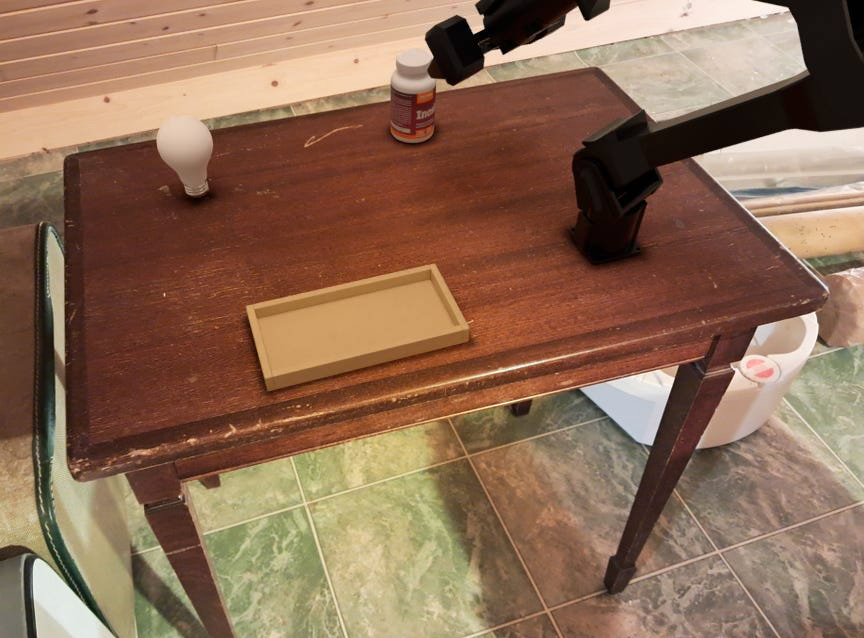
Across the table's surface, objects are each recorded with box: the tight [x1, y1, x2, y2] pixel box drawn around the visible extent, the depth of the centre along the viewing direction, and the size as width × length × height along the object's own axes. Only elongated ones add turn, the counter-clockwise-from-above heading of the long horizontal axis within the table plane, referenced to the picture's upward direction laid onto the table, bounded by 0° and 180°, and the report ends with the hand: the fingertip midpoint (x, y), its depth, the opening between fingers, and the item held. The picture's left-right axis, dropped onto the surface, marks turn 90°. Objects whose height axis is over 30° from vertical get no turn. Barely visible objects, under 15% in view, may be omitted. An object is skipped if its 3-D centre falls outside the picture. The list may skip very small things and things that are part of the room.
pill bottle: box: [390, 48, 437, 144], centre depth 98 cm, size 6×6×11 cm
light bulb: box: [156, 114, 214, 199], centre depth 89 cm, size 7×7×11 cm
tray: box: [245, 263, 471, 392], centre depth 77 cm, size 22×11×2 cm, turn 107°
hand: (456, 60), depth 88 cm, fingers open, 9 cm apart
